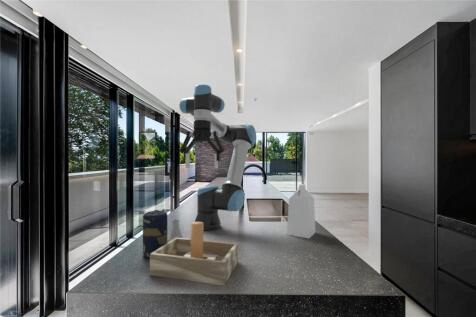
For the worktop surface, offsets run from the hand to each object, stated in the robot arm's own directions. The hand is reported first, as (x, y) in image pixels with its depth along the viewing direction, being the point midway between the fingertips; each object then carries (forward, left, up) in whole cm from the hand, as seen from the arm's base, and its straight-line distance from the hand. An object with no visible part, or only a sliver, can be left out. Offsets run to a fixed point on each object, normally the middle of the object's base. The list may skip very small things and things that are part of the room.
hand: (201, 168), depth 111 cm
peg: (+21, +7, -35) cm, 41 cm away
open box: (+21, +7, -35) cm, 41 cm away
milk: (-32, +44, -35) cm, 65 cm away
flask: (-3, -14, -35) cm, 38 cm away
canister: (+14, -14, -35) cm, 40 cm away
